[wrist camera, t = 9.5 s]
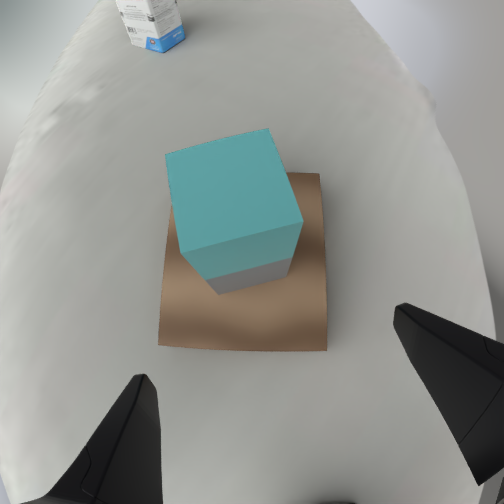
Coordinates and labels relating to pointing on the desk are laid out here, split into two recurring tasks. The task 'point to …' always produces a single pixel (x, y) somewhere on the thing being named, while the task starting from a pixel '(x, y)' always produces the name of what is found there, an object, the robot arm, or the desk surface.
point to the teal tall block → (234, 210)
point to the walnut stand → (252, 294)
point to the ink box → (152, 23)
